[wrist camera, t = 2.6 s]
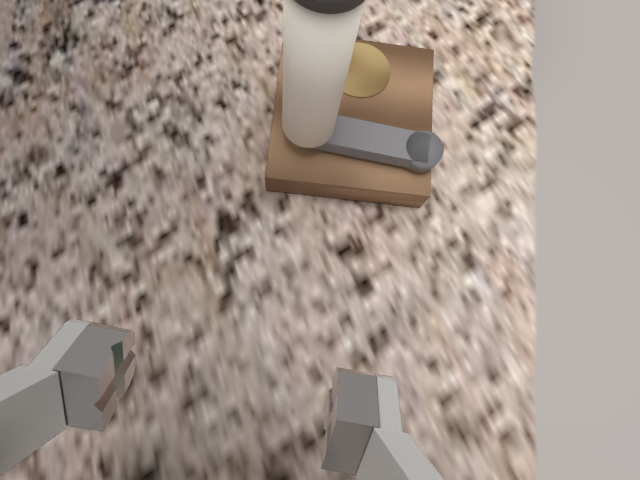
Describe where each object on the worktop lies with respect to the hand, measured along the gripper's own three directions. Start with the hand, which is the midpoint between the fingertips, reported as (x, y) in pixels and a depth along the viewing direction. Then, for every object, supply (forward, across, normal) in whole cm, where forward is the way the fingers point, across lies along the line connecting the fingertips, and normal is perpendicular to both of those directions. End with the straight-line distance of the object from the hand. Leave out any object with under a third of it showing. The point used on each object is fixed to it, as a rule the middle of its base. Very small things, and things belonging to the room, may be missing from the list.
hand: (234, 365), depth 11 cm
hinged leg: (+22, -4, 0) cm, 22 cm away
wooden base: (+26, -3, 0) cm, 26 cm away
